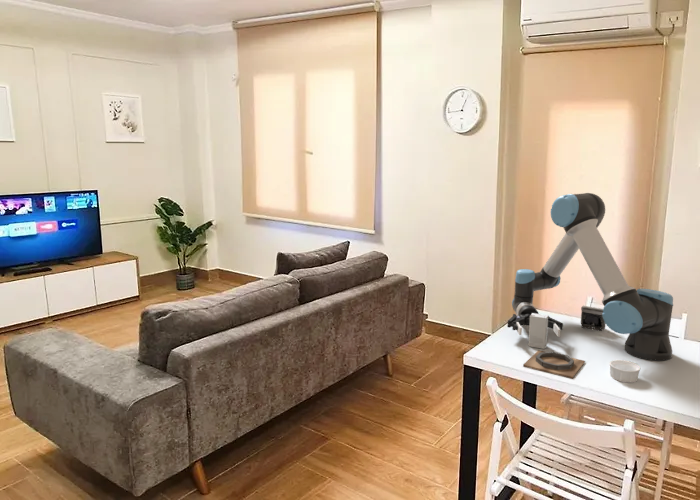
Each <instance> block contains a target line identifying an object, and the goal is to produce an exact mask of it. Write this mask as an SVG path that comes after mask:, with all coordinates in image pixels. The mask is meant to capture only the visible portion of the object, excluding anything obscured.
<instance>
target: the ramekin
mask: <svg viewBox="0 0 700 500" xmlns="http://www.w3.org/2000/svg"><path fill="white" fill-rule="evenodd" d="M640 371H641V366H640V365H639V364H638V363H635V362H633V361H628V360H624V359H614V360H612V361H610V362H609V375H610V377H611V378H612V379H614V380H615V381H618V382H622V383H628V384H629V383H635V382H637V381H638V379H639V374H640Z"/></svg>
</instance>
